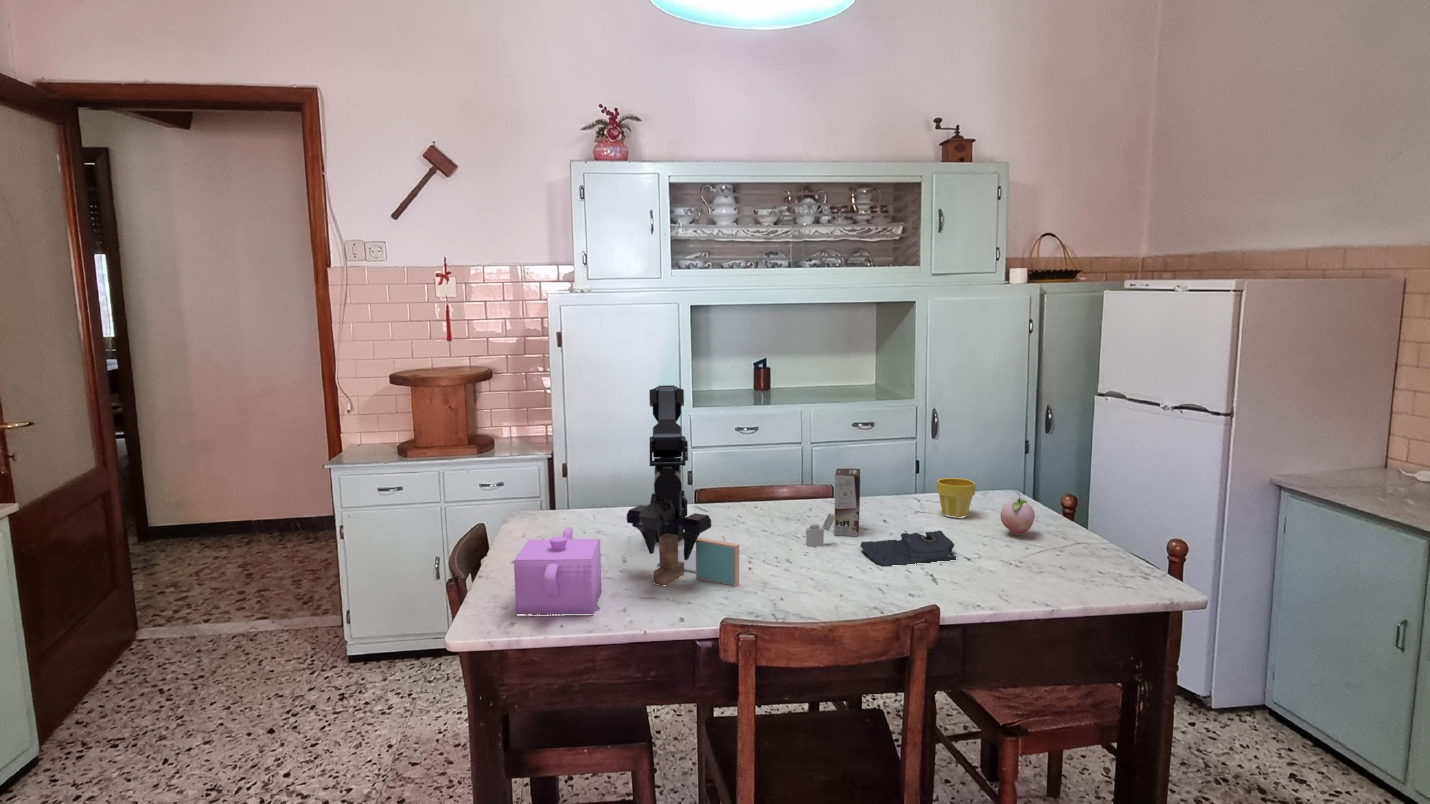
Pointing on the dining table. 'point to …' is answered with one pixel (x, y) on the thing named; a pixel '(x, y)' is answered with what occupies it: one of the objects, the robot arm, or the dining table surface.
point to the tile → (717, 561)
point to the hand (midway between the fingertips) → (668, 556)
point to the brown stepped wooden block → (668, 560)
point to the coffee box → (847, 502)
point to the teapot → (558, 576)
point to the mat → (687, 561)
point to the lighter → (818, 532)
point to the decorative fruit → (1017, 516)
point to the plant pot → (955, 495)
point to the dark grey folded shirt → (910, 549)
